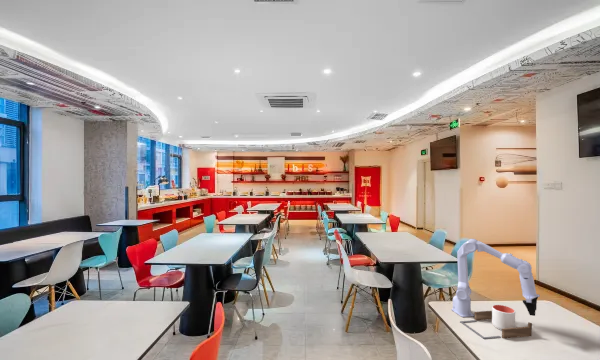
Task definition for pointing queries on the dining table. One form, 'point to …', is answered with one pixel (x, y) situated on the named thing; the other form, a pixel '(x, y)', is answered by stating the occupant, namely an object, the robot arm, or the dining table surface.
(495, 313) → the cup
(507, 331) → the wooden pieces
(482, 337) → the bracket
